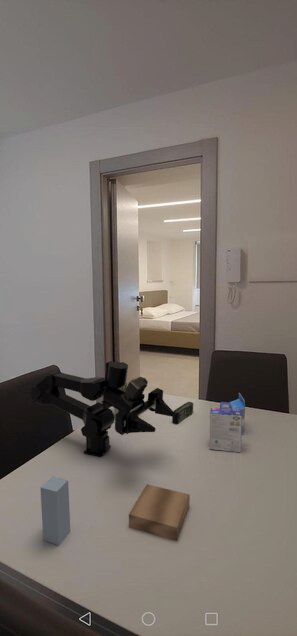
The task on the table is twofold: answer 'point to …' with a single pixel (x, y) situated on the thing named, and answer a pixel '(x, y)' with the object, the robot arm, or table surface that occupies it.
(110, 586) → the table surface
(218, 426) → the ink cartridge box
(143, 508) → the walnut block
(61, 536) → the slate block
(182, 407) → the mobile phone
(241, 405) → the label tape box
